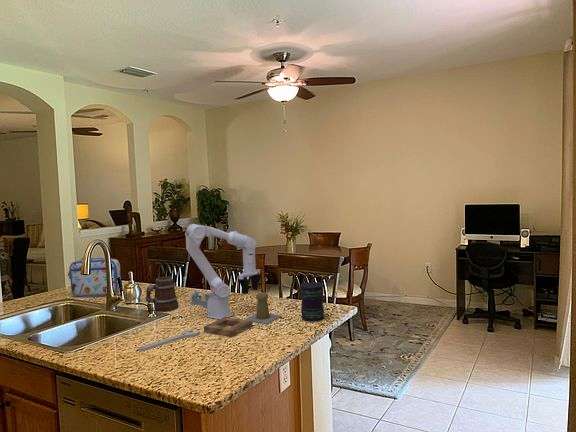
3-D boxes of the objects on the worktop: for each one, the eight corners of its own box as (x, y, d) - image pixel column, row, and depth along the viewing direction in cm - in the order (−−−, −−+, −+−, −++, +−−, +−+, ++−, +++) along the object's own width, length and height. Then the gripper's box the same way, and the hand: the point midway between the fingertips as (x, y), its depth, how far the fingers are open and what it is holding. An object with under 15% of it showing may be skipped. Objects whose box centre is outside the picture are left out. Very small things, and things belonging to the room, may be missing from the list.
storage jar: (309, 313, 194) (308, 281, 193) (328, 317, 188) (327, 283, 187) (297, 319, 186) (295, 285, 185) (316, 323, 180) (315, 288, 179)
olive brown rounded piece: (255, 316, 191) (254, 291, 190) (268, 315, 192) (267, 290, 192) (256, 320, 185) (255, 295, 185) (270, 318, 186) (269, 293, 186)
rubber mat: (243, 320, 187) (243, 319, 187) (258, 313, 197) (258, 312, 197) (267, 324, 181) (267, 323, 181) (281, 316, 191) (281, 315, 191)
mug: (171, 303, 219) (169, 274, 218) (182, 308, 210) (181, 278, 209) (141, 310, 209) (139, 280, 208) (152, 315, 200) (150, 283, 199)
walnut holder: (204, 332, 173) (203, 326, 173) (225, 322, 185) (225, 316, 185) (232, 337, 166) (231, 331, 166) (252, 326, 178) (252, 320, 178)
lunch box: (66, 298, 237) (63, 259, 236) (74, 294, 248) (72, 256, 246) (117, 296, 239) (114, 257, 237) (123, 292, 249) (121, 254, 248)
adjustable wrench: (140, 353, 154) (139, 349, 154) (133, 349, 159) (132, 344, 159) (201, 335, 170) (201, 331, 170) (193, 332, 175) (193, 327, 175)
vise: (223, 304, 215) (222, 291, 215) (206, 309, 208) (205, 295, 207) (201, 298, 228) (200, 286, 227) (184, 303, 220) (184, 290, 220)
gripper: (247, 266, 191) (248, 296, 191) (264, 260, 203) (266, 289, 204) (234, 265, 194) (235, 294, 195) (252, 259, 207) (253, 287, 208)
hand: (250, 291), depth 200 cm, fingers open, 7 cm apart
